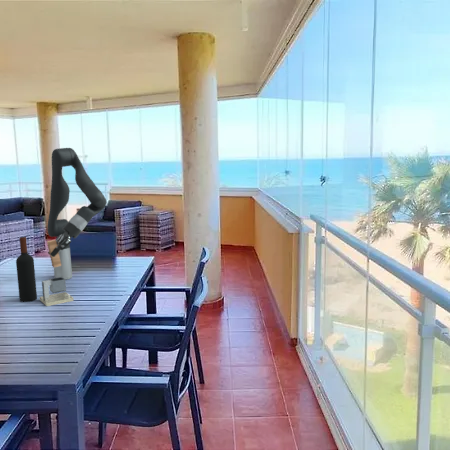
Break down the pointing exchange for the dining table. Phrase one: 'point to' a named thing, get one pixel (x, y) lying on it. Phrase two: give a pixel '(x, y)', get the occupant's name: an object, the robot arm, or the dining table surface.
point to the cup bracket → (55, 287)
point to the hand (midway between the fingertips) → (50, 254)
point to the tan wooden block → (56, 259)
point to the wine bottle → (26, 274)
